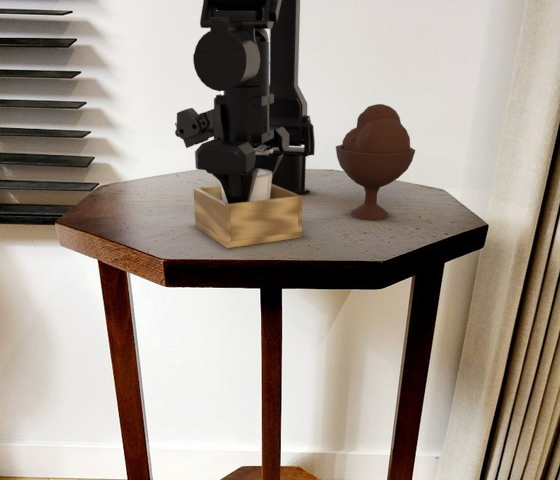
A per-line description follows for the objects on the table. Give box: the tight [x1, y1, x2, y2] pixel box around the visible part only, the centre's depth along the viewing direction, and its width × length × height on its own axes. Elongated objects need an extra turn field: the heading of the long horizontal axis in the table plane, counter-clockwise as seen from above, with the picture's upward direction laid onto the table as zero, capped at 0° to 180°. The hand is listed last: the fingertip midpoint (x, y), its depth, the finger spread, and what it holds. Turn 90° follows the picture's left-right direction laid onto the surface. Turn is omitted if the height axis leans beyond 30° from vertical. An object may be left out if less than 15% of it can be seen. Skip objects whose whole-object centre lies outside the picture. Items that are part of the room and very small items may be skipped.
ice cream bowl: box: [335, 103, 416, 221], centre depth 85 cm, size 11×11×15 cm
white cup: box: [219, 168, 272, 204], centre depth 79 cm, size 7×7×7 cm
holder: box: [192, 183, 304, 249], centre depth 79 cm, size 11×11×5 cm
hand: (247, 215), depth 80 cm, fingers open, 6 cm apart
